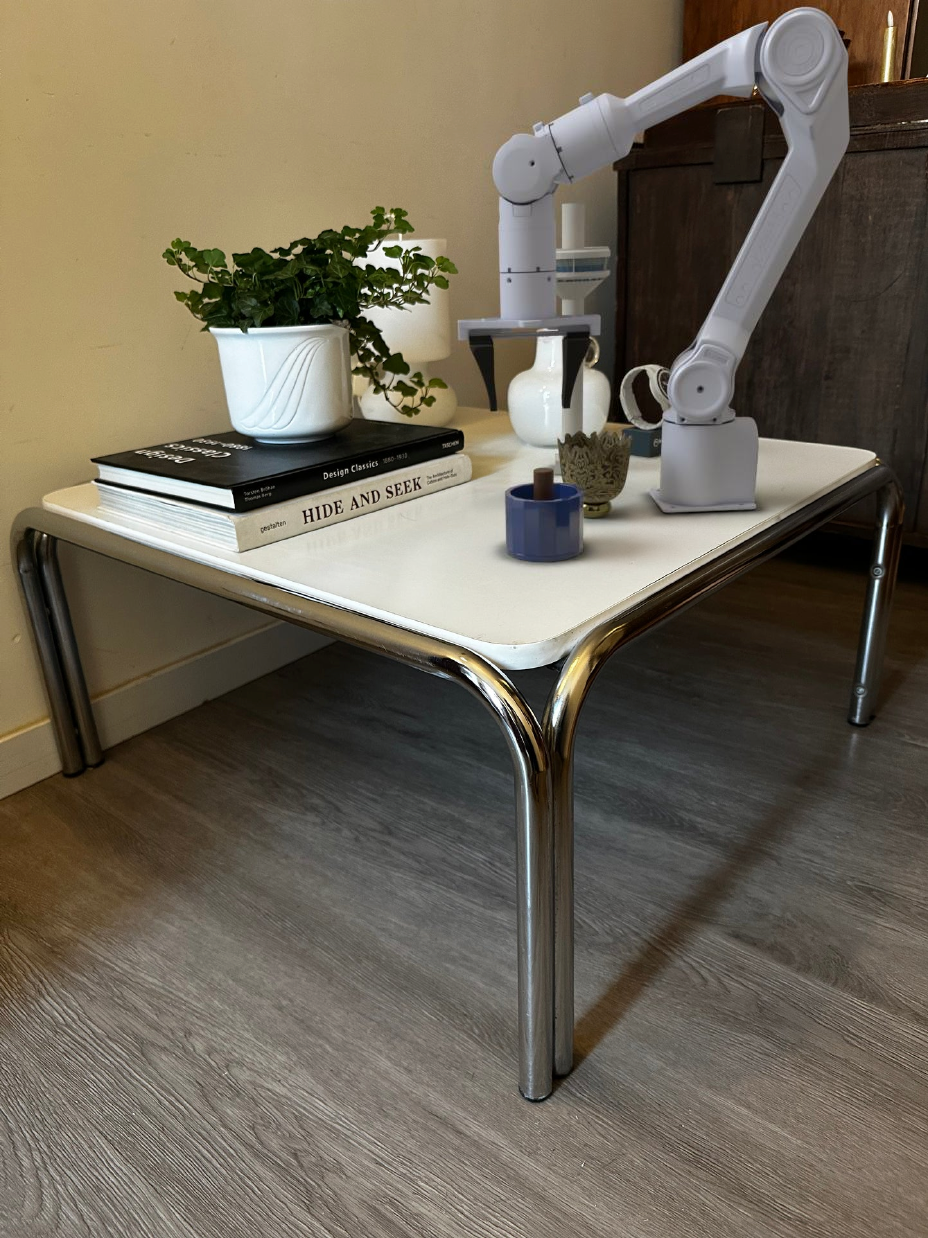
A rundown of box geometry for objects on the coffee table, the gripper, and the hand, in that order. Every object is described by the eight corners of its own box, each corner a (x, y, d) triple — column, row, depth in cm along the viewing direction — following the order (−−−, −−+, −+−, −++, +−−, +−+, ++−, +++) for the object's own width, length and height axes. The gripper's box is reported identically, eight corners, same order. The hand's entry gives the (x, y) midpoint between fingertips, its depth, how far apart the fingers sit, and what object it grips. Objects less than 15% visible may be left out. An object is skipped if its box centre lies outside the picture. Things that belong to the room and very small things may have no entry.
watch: (662, 459, 118) (666, 370, 114) (610, 451, 123) (612, 366, 119) (686, 451, 121) (690, 364, 117) (634, 444, 127) (637, 361, 123)
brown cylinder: (551, 540, 86) (550, 466, 84) (556, 546, 84) (555, 470, 82) (532, 542, 86) (531, 468, 83) (536, 548, 84) (536, 472, 82)
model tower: (604, 462, 117) (609, 202, 106) (608, 477, 110) (613, 200, 99) (538, 463, 118) (536, 206, 107) (537, 478, 111) (535, 203, 99)
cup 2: (612, 528, 91) (613, 447, 88) (545, 519, 94) (544, 441, 91) (641, 509, 97) (643, 432, 94) (576, 502, 100) (577, 427, 97)
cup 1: (577, 537, 89) (578, 480, 87) (587, 560, 82) (587, 499, 80) (504, 539, 89) (503, 483, 87) (508, 563, 82) (506, 503, 80)
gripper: (455, 276, 90) (461, 417, 95) (605, 269, 89) (603, 412, 95) (456, 273, 96) (461, 406, 101) (595, 267, 96) (594, 401, 101)
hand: (529, 408), depth 98 cm, fingers open, 7 cm apart
